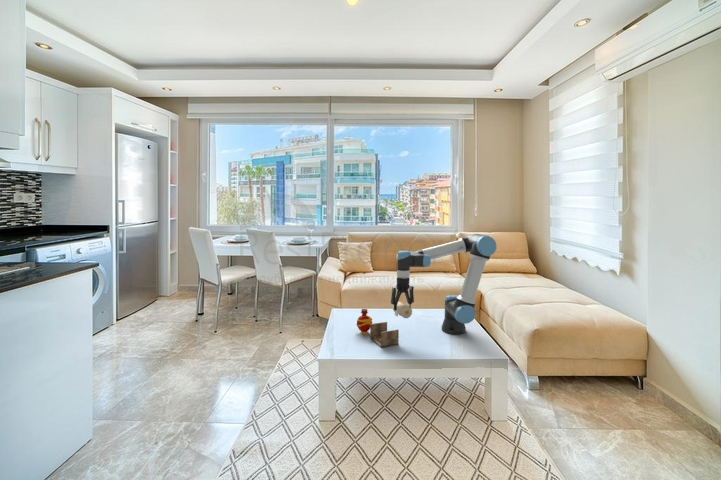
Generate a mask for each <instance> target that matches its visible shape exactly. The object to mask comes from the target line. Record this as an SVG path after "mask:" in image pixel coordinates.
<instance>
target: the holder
mask: <svg viewBox="0 0 721 480" xmlns="http://www.w3.org/2000/svg"><path fill="white" fill-rule="evenodd" d="M369 330H370V336H369V338H370V339H371V340H372V341H373V342H374V343H375V344H376V345H378V347H379V348H381V349H384V348H389V347H395V346H399V329H393V330H388V321H382V322H381V321H380V322H375V323H374V322H373V323H372V324H370V329H369Z"/></svg>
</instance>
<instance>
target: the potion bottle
mask: <svg viewBox="0 0 721 480" xmlns="http://www.w3.org/2000/svg"><path fill="white" fill-rule="evenodd" d="M368 313H369V312H368V308H361V312H360V314H361V315H359V316H358V317H357V319H356V327H357V328H358V330H359V331H360V334H361V335H368V334H369V330H370V324H374V322H373V318H372V317H371V316H369V315H368Z"/></svg>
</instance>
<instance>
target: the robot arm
mask: <svg viewBox="0 0 721 480" xmlns="http://www.w3.org/2000/svg"><path fill="white" fill-rule="evenodd" d="M496 251H497V242H496V239H494V238H493V237H491V236H489V235H486V234H479V233H473V234H470V235H467V236H463V237H461V238H459V239H458V240H455V241H451V242H446V243H443V244H440V245H436V246H431V247H427V248H424V249H423V248H422V249H419V250H412V251H409V250H399V251H398V252H397V256H396V257H397V258H396V260H397V261H396V285H395V286H394V287H393V286H392V287H391V299H390V304H391V305H392V306H393V305H394V310H395V312H394V315H395V317H399V314H398V305H397V304H398V302H400V301H399V300H400V298H401V295H402V294H404V295H405V298H406V301H407V303H405V305H407V306H409V307H410V308H411V305H413V304H414V302H415V298H414V287H415V286H413V285H410V277H411V273H410V272H411V268H429V267H430V266H431V263H432V261H431V260H435V259H439V258H443V257H447V256H450V255H451V256H452V255H456V254H458V253H463V254H466V253H469V256H470V261H469V265H468V268H467V270H466V273H465V277H464V280H463V283H462V286H461V291H460V294H459V295H458V294H448V295H446V296H444V317H443V318H444V319H443V322H442V325H441V331H442V332H443V333H445V334H449V335H450V334H451V335H463V334H465V333H466V331H467V329H466V324H467V325H468V324H469V323H471V322H473V321H474V320H475V318H476V314H477V313H476V309H475V307H476V301H475V298H476V295H477V292H478V288H479V285H480V282H481V279H482V275H483V272H484V268H485V267H486V266H485V265H486V262H488V261H490V259H491V256H492V255H494V254H495V253H496ZM411 309H412V308H411Z"/></svg>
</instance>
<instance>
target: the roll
mask: <svg viewBox="0 0 721 480" xmlns="http://www.w3.org/2000/svg"><path fill="white" fill-rule="evenodd" d="M397 305H398V316H401V317H402V318H403V319H409V318H410V317H411V316H412V315H413V309H412V308H410V307H409V306H407V305H406V303H403V302H401V301H398V304H397ZM392 310H393V312H394V313H395V310H394V305H393V304H392Z"/></svg>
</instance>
